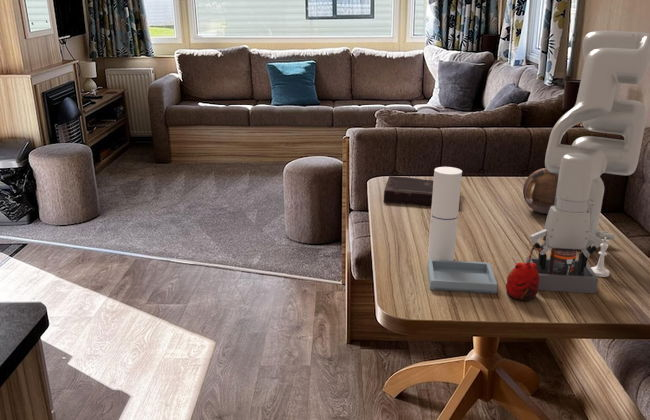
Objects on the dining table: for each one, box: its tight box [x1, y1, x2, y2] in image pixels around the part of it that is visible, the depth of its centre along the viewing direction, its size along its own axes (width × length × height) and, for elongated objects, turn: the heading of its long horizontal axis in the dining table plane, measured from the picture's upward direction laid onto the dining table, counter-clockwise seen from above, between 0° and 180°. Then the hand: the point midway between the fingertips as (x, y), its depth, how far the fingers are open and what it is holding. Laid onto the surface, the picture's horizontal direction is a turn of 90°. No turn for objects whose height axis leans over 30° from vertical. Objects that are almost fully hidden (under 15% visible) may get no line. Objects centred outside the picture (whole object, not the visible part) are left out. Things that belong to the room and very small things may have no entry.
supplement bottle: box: [548, 248, 577, 276], centre depth 159 cm, size 6×6×11 cm
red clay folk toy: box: [505, 243, 541, 302], centre depth 151 cm, size 8×7×15 cm
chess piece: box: [590, 237, 610, 278], centre depth 165 cm, size 5×5×10 cm
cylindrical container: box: [427, 166, 463, 261], centre depth 170 cm, size 7×7×25 cm
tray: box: [427, 258, 498, 295], centre depth 161 cm, size 16×13×2 cm
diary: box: [383, 175, 434, 207], centre depth 224 cm, size 19×25×5 cm
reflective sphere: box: [522, 167, 559, 215], centre depth 209 cm, size 15×15×15 cm
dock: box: [525, 256, 599, 294], centre depth 161 cm, size 15×11×4 cm
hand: (561, 268), depth 160 cm, fingers open, 9 cm apart
